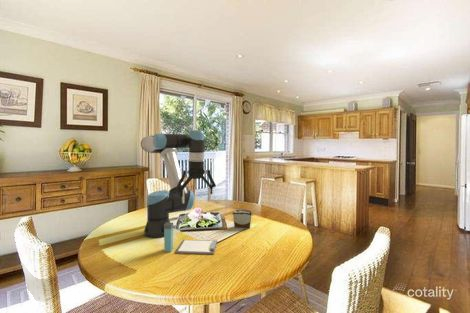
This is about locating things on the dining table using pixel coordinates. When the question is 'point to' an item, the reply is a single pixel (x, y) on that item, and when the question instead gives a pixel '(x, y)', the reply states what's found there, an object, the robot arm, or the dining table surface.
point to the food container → (242, 218)
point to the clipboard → (197, 247)
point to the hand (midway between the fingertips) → (196, 201)
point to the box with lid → (168, 237)
